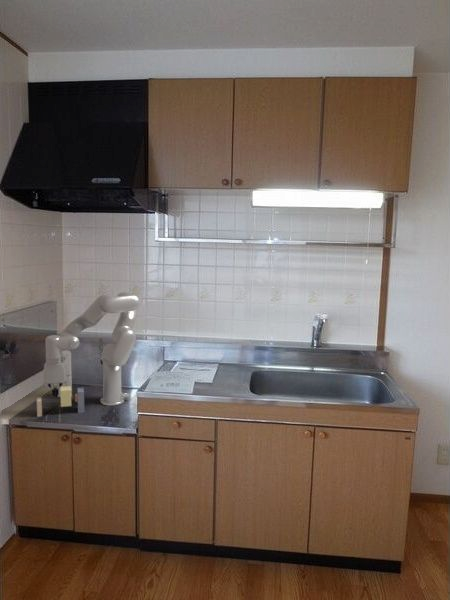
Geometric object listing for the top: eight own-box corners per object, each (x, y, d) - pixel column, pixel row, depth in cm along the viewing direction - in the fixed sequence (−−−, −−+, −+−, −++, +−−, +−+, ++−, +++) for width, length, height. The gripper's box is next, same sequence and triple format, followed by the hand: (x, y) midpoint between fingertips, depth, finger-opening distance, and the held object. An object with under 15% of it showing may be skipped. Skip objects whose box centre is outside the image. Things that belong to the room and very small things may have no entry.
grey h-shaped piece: (83, 407, 231) (83, 387, 229) (84, 412, 226) (84, 391, 224) (37, 412, 224) (37, 391, 222) (37, 417, 218) (36, 395, 216)
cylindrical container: (67, 399, 242) (66, 354, 238) (55, 397, 243) (54, 353, 239) (74, 394, 248) (73, 351, 244) (62, 393, 250) (61, 350, 246)
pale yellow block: (71, 401, 228) (70, 385, 227) (71, 405, 223) (71, 390, 222) (60, 402, 227) (60, 386, 225) (60, 406, 221) (60, 390, 220)
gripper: (70, 357, 225) (71, 391, 228) (38, 359, 220) (39, 394, 223) (70, 361, 218) (71, 397, 221) (37, 363, 213) (38, 400, 216)
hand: (55, 395), depth 222 cm, fingers closed
